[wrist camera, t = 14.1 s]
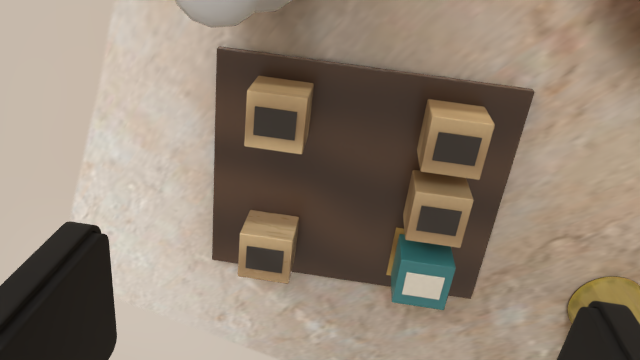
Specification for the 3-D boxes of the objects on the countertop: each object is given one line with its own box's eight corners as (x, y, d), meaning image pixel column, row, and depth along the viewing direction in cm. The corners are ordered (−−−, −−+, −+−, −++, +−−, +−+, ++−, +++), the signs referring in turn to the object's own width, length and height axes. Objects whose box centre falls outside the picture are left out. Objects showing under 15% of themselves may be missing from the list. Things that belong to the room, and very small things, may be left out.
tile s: (399, 233, 42) (401, 260, 38) (449, 240, 41) (456, 268, 38) (390, 274, 43) (391, 303, 40) (439, 281, 43) (444, 311, 40)
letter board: (219, 46, 37) (216, 48, 36) (532, 89, 36) (535, 91, 36) (214, 255, 45) (211, 260, 44) (469, 294, 44) (471, 299, 44)
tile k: (250, 209, 42) (239, 233, 39) (299, 216, 42) (292, 241, 39) (247, 250, 44) (237, 277, 40) (294, 257, 44) (288, 285, 40)
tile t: (412, 169, 39) (415, 192, 36) (466, 176, 39) (474, 200, 36) (402, 215, 41) (404, 241, 38) (454, 222, 41) (460, 249, 37)
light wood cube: (258, 75, 37) (246, 90, 34) (314, 82, 37) (307, 99, 34) (254, 127, 39) (243, 147, 36) (308, 135, 39) (301, 155, 35)
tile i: (427, 98, 37) (432, 116, 33) (484, 106, 36) (495, 125, 33) (416, 150, 38) (420, 172, 35) (471, 158, 38) (479, 181, 35)
